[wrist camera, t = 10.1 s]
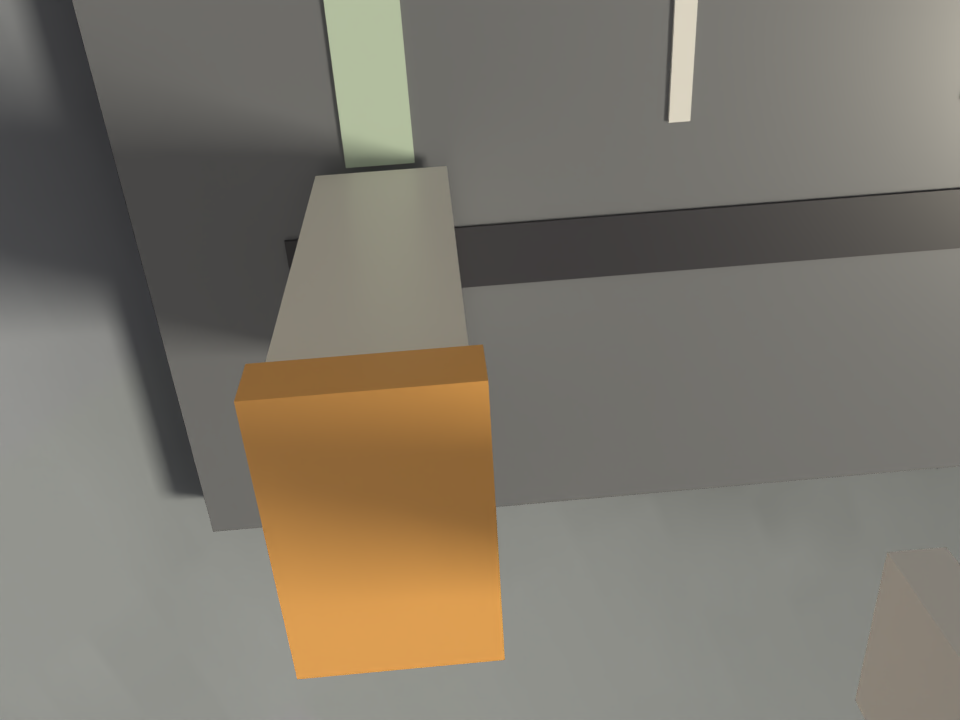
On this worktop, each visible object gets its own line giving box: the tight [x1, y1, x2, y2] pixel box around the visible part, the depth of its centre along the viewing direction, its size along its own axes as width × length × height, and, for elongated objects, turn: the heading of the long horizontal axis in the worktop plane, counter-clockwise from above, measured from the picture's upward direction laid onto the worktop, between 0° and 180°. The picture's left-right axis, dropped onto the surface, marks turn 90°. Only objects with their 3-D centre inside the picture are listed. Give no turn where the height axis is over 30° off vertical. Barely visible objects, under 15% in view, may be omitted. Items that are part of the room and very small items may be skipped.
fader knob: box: [234, 166, 505, 679], centre depth 18 cm, size 5×3×10 cm, turn 3°
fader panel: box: [72, 0, 960, 532], centre depth 23 cm, size 16×26×2 cm, turn 93°
